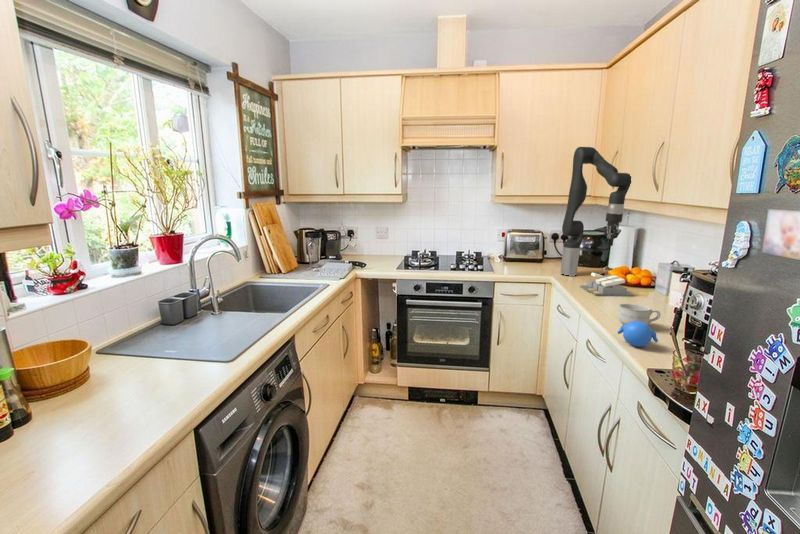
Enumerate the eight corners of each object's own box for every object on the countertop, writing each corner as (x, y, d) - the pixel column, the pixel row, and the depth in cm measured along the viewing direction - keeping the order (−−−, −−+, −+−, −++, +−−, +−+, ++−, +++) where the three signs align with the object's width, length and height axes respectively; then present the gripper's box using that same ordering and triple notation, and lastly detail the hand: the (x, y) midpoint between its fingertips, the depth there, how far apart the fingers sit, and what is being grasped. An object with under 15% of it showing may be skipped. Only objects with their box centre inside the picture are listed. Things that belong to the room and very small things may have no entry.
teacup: (615, 326, 150) (617, 307, 148) (617, 319, 159) (620, 300, 157) (658, 335, 142) (661, 314, 141) (658, 326, 151) (661, 306, 150)
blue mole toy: (658, 343, 135) (662, 320, 133) (655, 354, 126) (659, 329, 124) (619, 334, 142) (622, 312, 140) (613, 344, 133) (617, 321, 131)
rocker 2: (595, 282, 202) (595, 279, 202) (614, 278, 202) (614, 274, 201) (599, 284, 199) (599, 281, 198) (618, 279, 198) (618, 276, 198)
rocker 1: (590, 275, 207) (592, 272, 207) (608, 280, 208) (609, 277, 207) (594, 276, 203) (595, 273, 203) (611, 282, 204) (613, 279, 204)
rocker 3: (601, 284, 197) (601, 281, 196) (621, 280, 196) (620, 277, 196) (605, 286, 193) (604, 283, 193) (625, 282, 193) (624, 279, 193)
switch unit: (579, 287, 209) (580, 277, 208) (614, 287, 210) (616, 278, 209) (595, 295, 193) (597, 285, 192) (633, 296, 193) (635, 286, 192)
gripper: (601, 211, 207) (596, 243, 211) (614, 213, 194) (609, 247, 198) (615, 211, 207) (610, 243, 211) (629, 214, 194) (623, 248, 198)
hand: (609, 245), depth 205 cm, fingers closed
